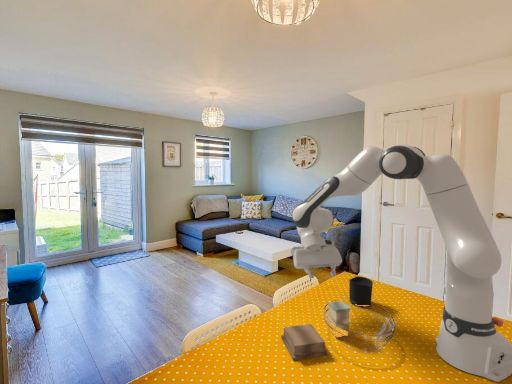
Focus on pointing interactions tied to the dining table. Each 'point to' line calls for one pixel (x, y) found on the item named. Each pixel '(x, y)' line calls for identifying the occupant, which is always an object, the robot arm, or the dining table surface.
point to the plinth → (303, 342)
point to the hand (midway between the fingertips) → (323, 276)
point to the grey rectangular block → (339, 315)
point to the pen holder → (360, 290)
